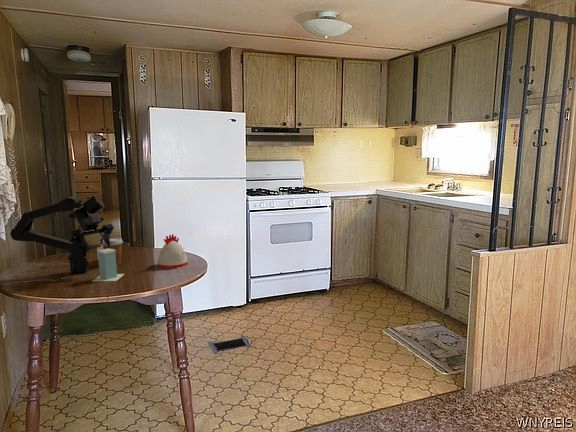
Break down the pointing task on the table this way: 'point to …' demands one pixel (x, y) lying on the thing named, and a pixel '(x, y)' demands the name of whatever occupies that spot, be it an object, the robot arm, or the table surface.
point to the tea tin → (107, 263)
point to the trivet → (108, 279)
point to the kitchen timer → (172, 254)
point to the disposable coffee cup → (115, 247)
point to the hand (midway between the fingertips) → (99, 247)
